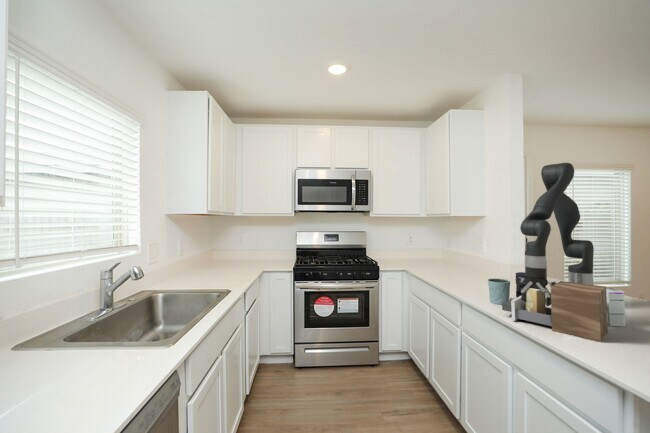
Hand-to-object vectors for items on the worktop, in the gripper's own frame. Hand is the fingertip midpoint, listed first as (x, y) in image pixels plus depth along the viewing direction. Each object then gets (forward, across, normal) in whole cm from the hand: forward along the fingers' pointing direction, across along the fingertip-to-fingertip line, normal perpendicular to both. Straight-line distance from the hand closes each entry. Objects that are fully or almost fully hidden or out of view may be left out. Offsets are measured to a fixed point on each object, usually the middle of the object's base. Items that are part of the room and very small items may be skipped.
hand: (536, 303), depth 123 cm
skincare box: (+6, 0, 0) cm, 6 cm away
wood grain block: (+8, -14, 0) cm, 16 cm away
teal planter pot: (+8, +21, -18) cm, 29 cm away
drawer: (+7, +2, 0) cm, 8 cm away
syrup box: (+8, -21, -20) cm, 30 cm away
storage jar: (+8, +12, -30) cm, 33 cm away
